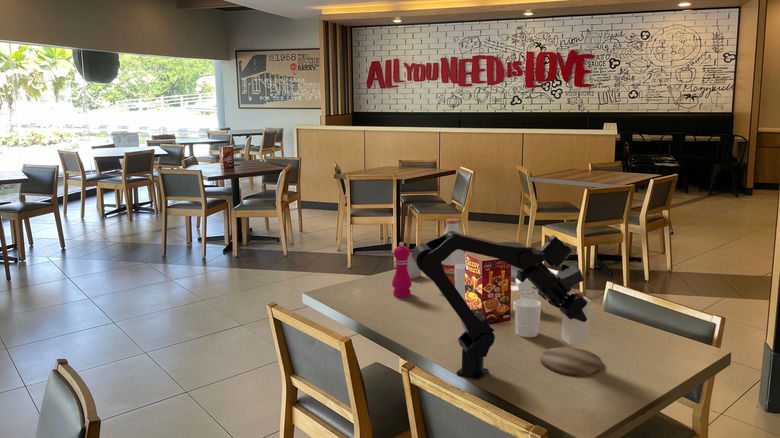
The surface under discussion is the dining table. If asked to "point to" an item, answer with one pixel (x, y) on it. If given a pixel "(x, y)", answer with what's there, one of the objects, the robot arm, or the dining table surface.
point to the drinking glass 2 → (460, 279)
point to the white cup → (527, 317)
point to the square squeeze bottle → (577, 326)
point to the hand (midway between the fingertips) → (580, 317)
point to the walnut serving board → (571, 361)
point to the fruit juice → (457, 255)
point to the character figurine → (524, 290)
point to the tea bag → (413, 268)
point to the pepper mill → (401, 272)
